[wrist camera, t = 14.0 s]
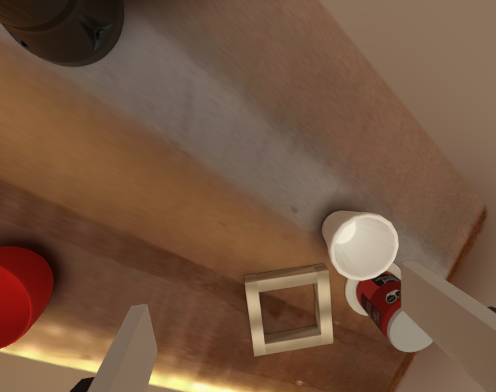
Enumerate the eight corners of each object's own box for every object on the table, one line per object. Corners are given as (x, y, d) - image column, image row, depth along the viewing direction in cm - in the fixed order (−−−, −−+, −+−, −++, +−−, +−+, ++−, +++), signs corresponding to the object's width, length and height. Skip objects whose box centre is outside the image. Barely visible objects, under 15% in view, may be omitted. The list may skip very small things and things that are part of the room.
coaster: (343, 263, 51) (344, 264, 50) (402, 254, 52) (405, 255, 51) (345, 318, 53) (347, 320, 53) (403, 308, 54) (405, 310, 53)
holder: (243, 275, 50) (244, 283, 47) (323, 263, 50) (328, 270, 48) (253, 346, 53) (254, 356, 50) (328, 333, 54) (333, 342, 51)
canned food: (404, 276, 52) (452, 314, 41) (382, 314, 53) (423, 359, 42) (368, 261, 50) (408, 296, 40) (346, 300, 52) (379, 343, 41)
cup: (378, 226, 50) (413, 246, 41) (336, 266, 51) (361, 294, 42) (341, 186, 48) (369, 198, 39) (298, 229, 49) (315, 250, 40)
